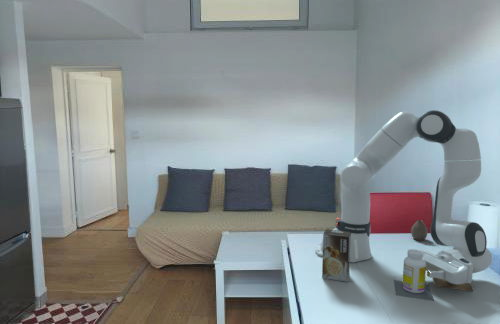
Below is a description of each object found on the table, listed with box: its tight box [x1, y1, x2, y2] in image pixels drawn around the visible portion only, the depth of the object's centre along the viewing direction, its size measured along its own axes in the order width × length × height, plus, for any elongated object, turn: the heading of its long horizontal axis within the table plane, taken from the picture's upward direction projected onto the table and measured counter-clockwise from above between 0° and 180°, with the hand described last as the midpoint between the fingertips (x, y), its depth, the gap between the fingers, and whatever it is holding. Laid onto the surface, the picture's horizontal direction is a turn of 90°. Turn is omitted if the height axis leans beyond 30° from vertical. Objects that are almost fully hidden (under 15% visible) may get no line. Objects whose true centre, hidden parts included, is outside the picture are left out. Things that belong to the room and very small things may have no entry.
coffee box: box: [321, 228, 351, 283], centre depth 129 cm, size 9×6×16 cm
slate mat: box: [393, 279, 435, 301], centre depth 120 cm, size 11×11×1 cm
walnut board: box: [432, 277, 474, 292], centre depth 127 cm, size 11×11×1 cm
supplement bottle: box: [402, 248, 427, 293], centre depth 119 cm, size 7×7×13 cm
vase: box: [410, 219, 428, 241], centre depth 170 cm, size 7×7×9 cm
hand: (417, 268), depth 120 cm, fingers open, 8 cm apart
